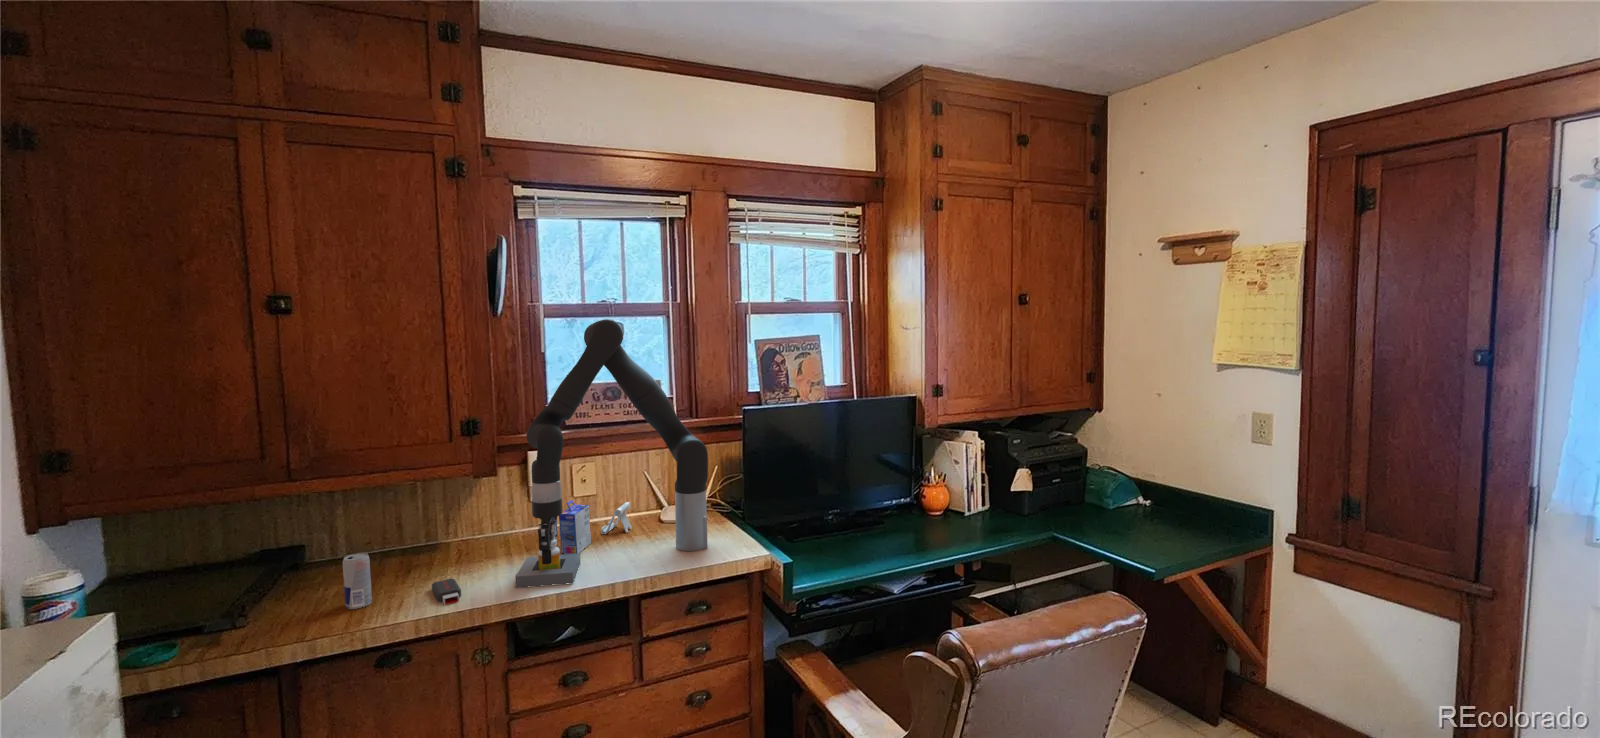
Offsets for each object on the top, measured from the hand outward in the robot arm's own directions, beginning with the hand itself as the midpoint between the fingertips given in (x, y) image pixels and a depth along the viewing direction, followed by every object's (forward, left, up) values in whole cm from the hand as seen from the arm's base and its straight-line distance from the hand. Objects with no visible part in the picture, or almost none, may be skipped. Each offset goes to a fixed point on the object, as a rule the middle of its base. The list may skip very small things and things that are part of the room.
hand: (549, 559), depth 177 cm
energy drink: (+42, +10, -5) cm, 44 cm away
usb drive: (+23, +8, -5) cm, 25 cm away
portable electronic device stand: (-15, -35, -5) cm, 38 cm away
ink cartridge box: (-4, -20, -5) cm, 21 cm away
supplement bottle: (0, 0, -5) cm, 5 cm away
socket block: (0, 0, -4) cm, 4 cm away
